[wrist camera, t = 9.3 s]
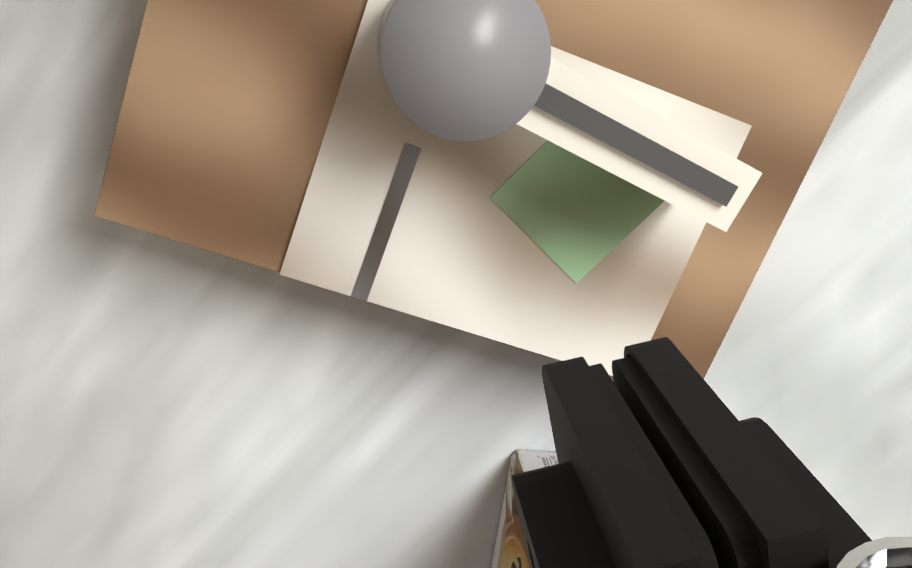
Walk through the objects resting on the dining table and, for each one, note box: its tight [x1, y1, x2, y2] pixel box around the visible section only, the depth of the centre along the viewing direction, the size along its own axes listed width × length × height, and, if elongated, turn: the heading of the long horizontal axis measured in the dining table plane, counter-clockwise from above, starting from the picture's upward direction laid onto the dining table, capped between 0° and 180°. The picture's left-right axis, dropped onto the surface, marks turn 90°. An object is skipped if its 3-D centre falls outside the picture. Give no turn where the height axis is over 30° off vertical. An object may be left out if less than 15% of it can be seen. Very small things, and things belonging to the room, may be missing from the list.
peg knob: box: [378, 0, 762, 232], centre depth 22 cm, size 10×4×4 cm, turn 63°
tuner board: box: [94, 0, 893, 379], centre depth 25 cm, size 16×20×4 cm
